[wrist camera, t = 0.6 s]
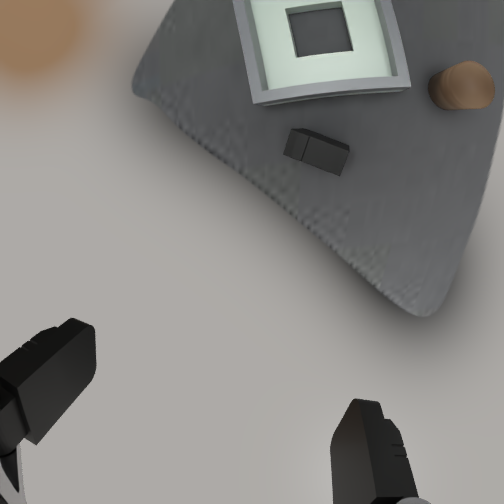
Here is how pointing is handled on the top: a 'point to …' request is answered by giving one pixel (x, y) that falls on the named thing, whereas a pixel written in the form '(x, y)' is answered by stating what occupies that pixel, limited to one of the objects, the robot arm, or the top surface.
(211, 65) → the top surface
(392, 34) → the socket box
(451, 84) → the peg
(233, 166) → the top surface
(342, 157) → the ink cartridge
